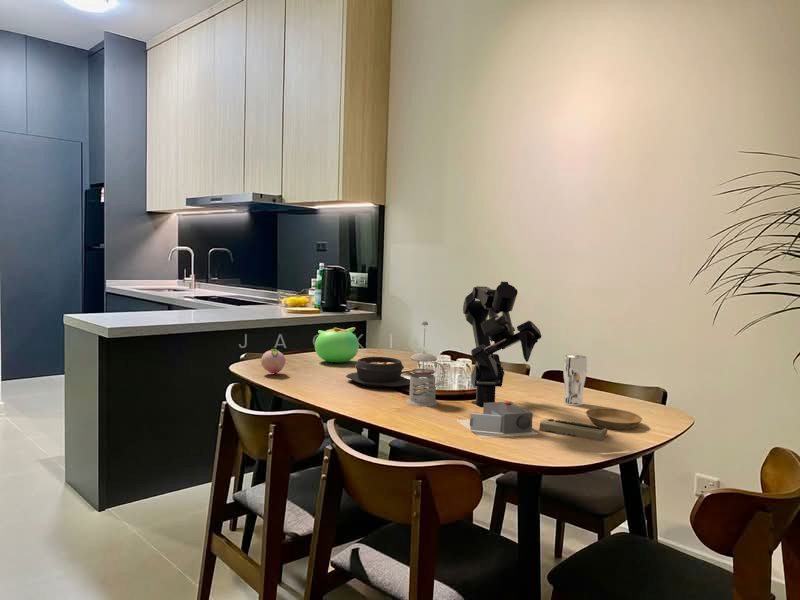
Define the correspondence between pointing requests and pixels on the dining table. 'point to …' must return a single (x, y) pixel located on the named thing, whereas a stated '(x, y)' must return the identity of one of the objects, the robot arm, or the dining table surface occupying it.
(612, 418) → the plant saucer
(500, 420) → the side door
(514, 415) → the camera body
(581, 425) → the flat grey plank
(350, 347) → the green persimmon
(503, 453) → the dining table surface
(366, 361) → the casserole
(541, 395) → the dining table surface
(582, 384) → the beer glass
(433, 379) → the french press
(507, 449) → the dining table surface
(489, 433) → the mat
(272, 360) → the decorative fruit
